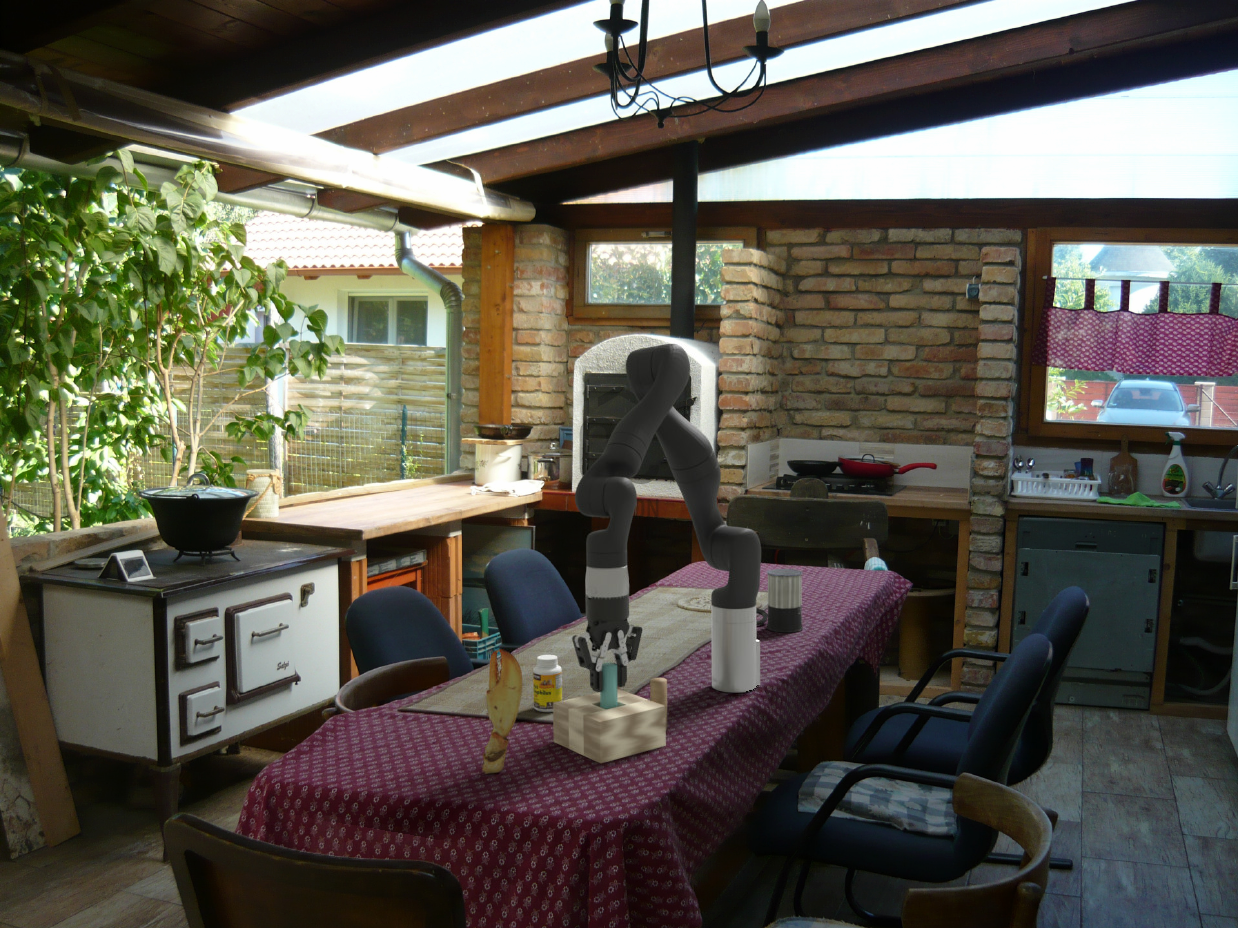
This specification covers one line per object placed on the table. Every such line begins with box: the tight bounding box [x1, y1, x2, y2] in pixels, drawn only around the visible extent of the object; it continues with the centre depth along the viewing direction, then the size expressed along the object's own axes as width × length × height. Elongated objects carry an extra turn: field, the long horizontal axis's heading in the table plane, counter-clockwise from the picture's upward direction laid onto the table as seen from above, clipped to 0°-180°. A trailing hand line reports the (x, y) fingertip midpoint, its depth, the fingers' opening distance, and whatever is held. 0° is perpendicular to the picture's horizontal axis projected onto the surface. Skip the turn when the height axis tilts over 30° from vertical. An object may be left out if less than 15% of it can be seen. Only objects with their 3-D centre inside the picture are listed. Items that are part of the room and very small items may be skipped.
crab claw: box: [481, 648, 523, 775], centre depth 174 cm, size 7×5×20 cm
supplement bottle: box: [532, 654, 563, 713], centre depth 208 cm, size 6×6×10 cm
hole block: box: [552, 689, 667, 764], centre depth 187 cm, size 14×14×7 cm
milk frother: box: [756, 568, 804, 633], centre depth 276 cm, size 14×16×15 cm
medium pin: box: [649, 677, 668, 731], centre depth 195 cm, size 3×3×9 cm
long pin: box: [600, 662, 618, 710], centre depth 187 cm, size 3×3×14 cm
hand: (608, 688), depth 187 cm, fingers open, 4 cm apart
